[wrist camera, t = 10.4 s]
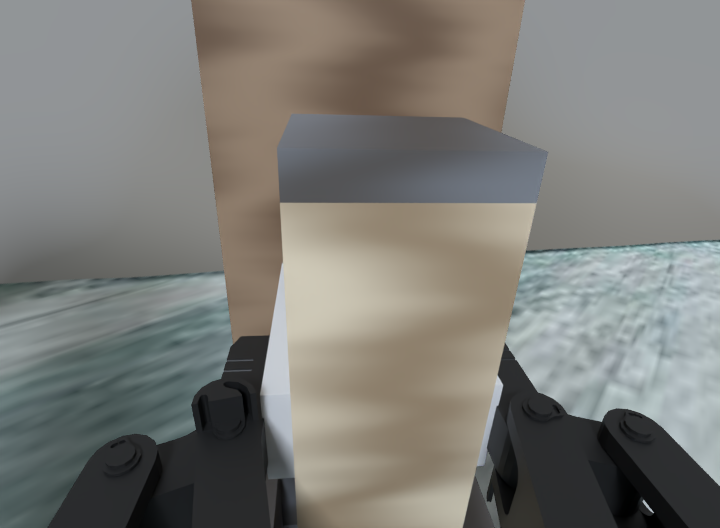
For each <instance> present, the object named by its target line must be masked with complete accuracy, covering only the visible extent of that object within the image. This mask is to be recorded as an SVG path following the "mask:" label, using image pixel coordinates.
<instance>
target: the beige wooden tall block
mask: <svg viewBox="0 0 720 528" xmlns="http://www.w3.org/2000/svg"><path fill="white" fill-rule="evenodd" d="M547 155H548V152H547V151H545V150H542V149H540V148H537V147H535V146H532V145H530V144H527V143H525V142H523V141H520V140H518V139H515V138H513V137H510V136H508V135H505V134H503V133H500V132H498V131H496V130H493V129H491V128H488V127H486V126H483V125H481V124H478V123H476V122H473V121H471V120H469V119H466V118H461V117H417V116H373V115H329V114H291V117H290V119H289V121H288V124H287V126H286V128H285V130H284V133H283V135H282V137H281V140H280V142H279V144H278V147H277V159H278V177H279V196H280V214H281V233H282V251H283V269H284V288H285V306H286V324H287V343H288V361H289V380H290V398H291V416H292V435H293V453H294V472H295V490H296V508H297V527H298V528H463V524H464V520H465V515H466V511H467V506H468V502H469V498H470V493H471V489H472V484H473V480H474V476H475V471H476V467H477V462H478V458H479V454H480V449H481V445H482V440H483V436H484V432H485V427H486V423H487V418H488V414H489V410H490V405H491V401H492V397H493V392H494V388H495V383H496V379H497V375H498V370H499V366H500V361H501V357H502V353H503V348H504V344H505V339H506V335H507V331H508V326H509V322H510V317H511V313H512V309H513V304H514V300H515V295H516V291H517V287H518V282H519V278H520V274H521V269H522V265H523V260H524V256H525V252H526V247H527V243H528V238H529V234H530V230H531V225H532V221H533V216H534V211H535V208H536V203H537V198H538V194H539V190H540V185H541V181H542V177H543V172H544V168H545V164H546V159H547Z"/></svg>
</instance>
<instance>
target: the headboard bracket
mask: <svg viewBox="0 0 720 528" xmlns="http://www.w3.org/2000/svg"><path fill="white" fill-rule="evenodd" d="M191 2H192V10H193V19H194V26H195V35H196V43H197V51H198V59H199V67H200V76H201V84H202V92H203V101H204V109H205V116H206V125H207V133H208V142H209V150H210V158H211V166H212V174H213V182H214V191H215V199H216V207H217V215H218V223H219V232H220V240H221V247H222V256H223V265H224V273H225V281H226V289H227V298H228V306H229V314H230V322H231V330H232V339H233V344H234V343H235V342H236V341H237V340H238V339H239V338H240V337H241V336H264V335H270V332H271V326H272V320H273V314H274V308H275V302H276V296H277V290H278V284H279V278H280V272H281V266H282V263H283V251H282V233H281V214H280V196H279V177H278V159H277V147H278V144H279V142H280V140H281V137H282V135H283V133H284V130H285V128H286V126H287V124H288V121H289V119H290V117H291V114H329V115H373V116H417V117H461V118H466V119H469V120H471V121H473V122H476V123H478V124H481V125H483V126H486V127H488V128H491V129H493V130H496V131H498V132H500V133H501V131H502V125H503V119H504V114H505V109H506V103H507V97H508V91H509V86H510V81H511V75H512V70H513V64H514V58H515V52H516V47H517V41H518V36H519V30H520V25H521V19H522V13H523V7H524V2H525V0H191ZM266 488H267V497H268V506H269V515H270V523H271V528H298V527H297V508H296V490H295V478H281V479H268V473H267V476H266ZM463 528H495V527H494V524H493V522H492V519H491V517H490V514H489V511H488V509H487V506H486V503H485V501H484V498H483V495H482V493H481V490H480V487H479V485H478V482H477V480H476V477H475V476H474V480H473V484H472V489H471V493H470V498H469V502H468V506H467V511H466V515H465V520H464V524H463Z"/></svg>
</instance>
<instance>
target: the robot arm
mask: <svg viewBox="0 0 720 528" xmlns="http://www.w3.org/2000/svg"><path fill="white" fill-rule="evenodd" d="M191 406H192V411H193V416H194V421H195V426H196V430H195V431H193V432H192V433H190V434H188V435H186V436H184V437H181V438H178V439H175V440H172V441H169V442H166V443H162V444H159V445H156V443H155V441H154V440H153V439H151V438H150V437H148V436H147V435H140V434H133V435H126V436H122V437H119V438H117V439H115V440H112V441H110V442H108V443H107V444H105V445H104V446H103V447H101V448H100V449H99V450H97V451H96V452H95V454H94V455H93V456H92V457H91V458H90V460H89V461H88V462H87V464H86V465H85V467H84V469H83V470H82V472H81V474H80V475H79V477H78V479H77V480H76V482H75V484H74V485H73V487H72V488H71V490H70V492H69V493H68V495H67V497H66V498H65V500H64V502H63V503H62V505H61V507H60V508H59V510H58V511H57V513H56V515H55V516H54V518H53V520H52V521H51V523H50V525H49V526H48V528H271V523H270V515H269V506H268V497H267V488H266V476H267V473H268V479H281V478H295V472H294V453H293V435H292V416H291V398H290V380H289V361H288V343H287V324H286V306H285V288H284V269H283V263H282V266H281V272H280V278H279V284H278V290H277V296H276V302H275V308H274V314H273V320H272V326H271V332H270V335H264V336H241V337H240V338H239V339H238V340H237V341H236V342H235V343H234V344H233V345H232V346H231V347H230V351H229V354H228V358H227V362H226V364H225V368H224V372H223V374H222V378H221V379H219V380H216V381H213V382H211V383H209V384H207V385H206V386H204V387H202V388H201V389H200V390H199V391H198V392H197V394H196V395H195V396H194V399H193V401H192V404H191ZM487 451H488V452H489V454H490V456H491V459H492V461H493V463H494V468H493V472H492V475H491V479H490V483H489V487H488V491H487V501H488V502H491V500H492V497H493V493H494V496H495V501H496V506H497V511H498V516H499V522H500V527H501V528H720V486H719V485H718V484H717V483H716V482H715V481H714V480H713V479H712V478H711V477H710V476H709V475H708V474H707V473H706V472H705V471H704V470H703V469H702V468H701V467H700V466H699V465H698V464H697V463H696V462H695V461H694V460H693V459H692V458H691V457H690V456H689V455H688V454H687V453H686V451H685V450H684V449H683V448H682V447H681V446H680V445H679V444H678V443H677V442H676V441H675V440H674V439H673V438H672V437H671V436H670V435H669V434H668V433H667V432H666V431H665V430H664V429H663V428H662V427H661V426H659V425H658V424H657V423H656V422H655V421H653V420H652V419H650V418H648V417H646V416H645V415H643V414H641V413H638V412H635V411H632V410H628V409H613V410H610V411H608V412H607V414H606V415H605V416H604V418H603V421H602V422H599V421H594V420H589V419H585V418H580V417H575V416H572V415H568V414H567V413H566V411H565V410H564V408H563V407H562V406H561V405H560V404H559V403H558V402H556V401H555V400H554V399H552V398H550V397H548V396H546V395H544V394H541V393H538V392H537V391H536V389H535V387H534V386H533V384H532V383H531V381H530V380H529V378H528V377H527V375H526V374H525V372H524V371H523V369H522V368H521V366H520V365H519V363H518V362H517V360H515V357H514V356H513V354H512V353H511V351H509V348H508V347H507V345H506V344H504V348H503V353H502V357H501V361H500V366H499V370H498V375H497V379H496V383H495V388H494V392H493V397H492V401H491V405H490V410H489V414H488V418H487V423H486V427H485V432H484V436H483V440H482V445H481V449H480V454H479V458H478V462H477V466H484V464H485V460H486V456H487ZM643 499H644V500H645V502H646V503H647V504H648V505H649V507H650V508H651V509H652V511H653V512H654V513H652V512H651V511H650V510H649V509H648V508H647V507H646V506H645V505H644V503H643V502H642V501H643Z"/></svg>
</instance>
